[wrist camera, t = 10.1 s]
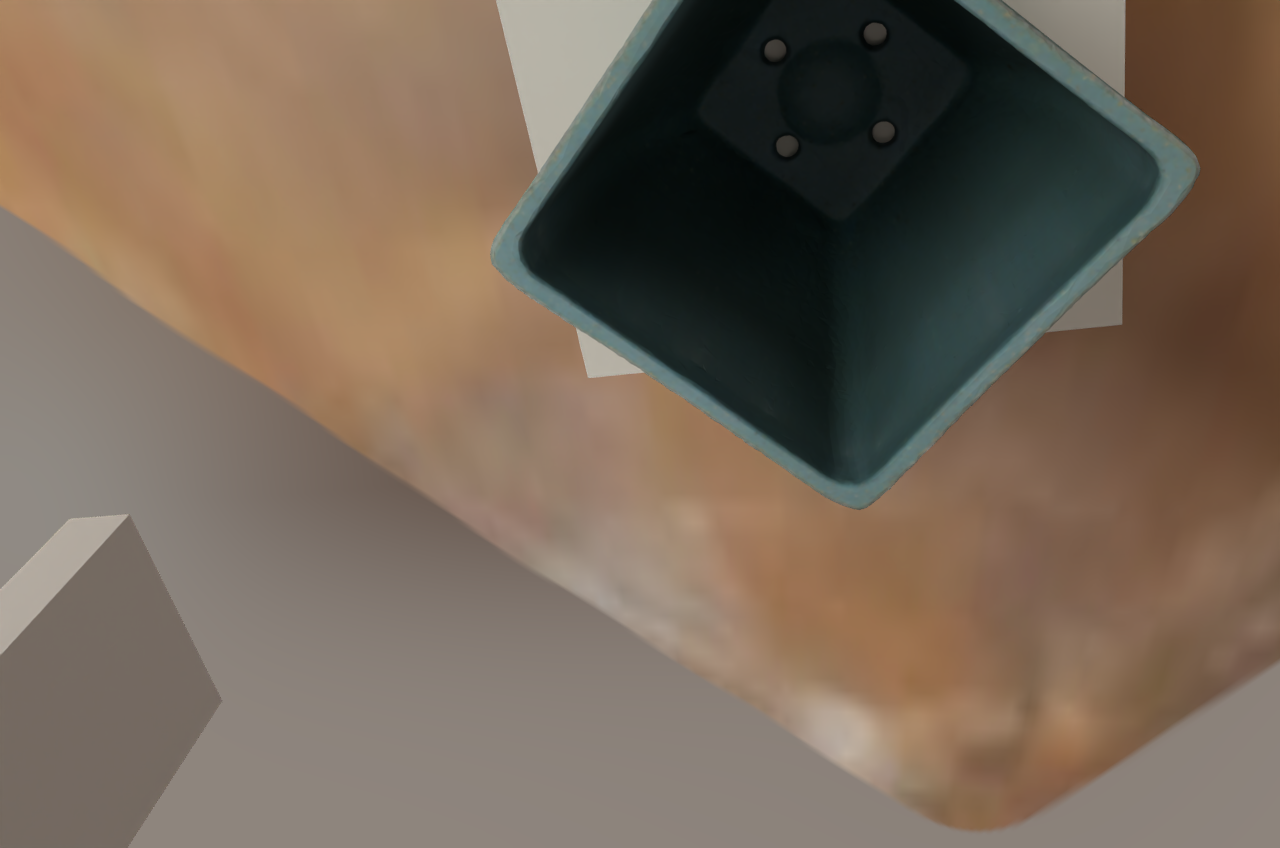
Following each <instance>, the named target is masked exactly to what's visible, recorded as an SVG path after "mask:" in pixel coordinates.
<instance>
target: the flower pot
mask: <svg viewBox="0 0 1280 848" xmlns="http://www.w3.org/2000/svg"><path fill="white" fill-rule="evenodd" d="M871 23H879V24H882V25H883V26H884V27H885V29H886V33H887V34H886V39H885V40H884V41H883V43H881V44H879V45H870V44H869V43H867V42H866V40H865V38H864V30H865V28H866V27H867V26H868V25H869V24H871ZM772 40H780V41H781V42H783V43H784V45H785V47H786V54H785V56H784V58H783V59H782V60H781V61H778V62H771V61H769V60H768V59H767V58H766V56H765V53H764V51H765V46H766V45H767V43H768V42H770V41H772ZM879 122H889V123H891V124H892V125H893V127H894V129H895V134H894V136H893V138H892V139H891V140H890V141H888V142H885V143H880V142H877V141H876V140H875V139H874V138H873V135H872V130H873V128H874V126H875V125H876V124H877V123H879ZM783 136H792V137H794V138H795V139H796V140H797V142H798V144H799V146H798V150H797V152H796V153H795V154H794V155H792V156H790V157H785V156H782V155H780V154H779V153H778V151H777V147H776V143H777V141H778V140H779V138H781V137H783ZM1199 173H1200V166H1199V163H1198V160H1197V157H1196V156H1195V154H1194V153H1193V152H1192V151H1191V150H1190V148H1189V147H1188V146H1186V145H1185V144H1184V143H1183V142H1182V141H1181V140H1180V139H1179V138H1178V137H1176V136H1175V135H1174V134H1173V133H1171V132H1170V131H1169V130H1167V129H1166V128H1165V127H1163V126H1162V125H1160V124H1159V123H1158V122H1156V121H1155V120H1154V119H1152V118H1151V117H1149V116H1148V115H1147V114H1145V113H1144V112H1143V111H1141V110H1140V109H1139V108H1138V107H1136V106H1135V105H1134V104H1132V103H1131V102H1130V101H1129V100H1127V99H1126V98H1125V97H1124V96H1122V95H1121V94H1120V93H1118V92H1117V91H1116V90H1115V89H1113V88H1112V87H1111V86H1109V85H1108V84H1107V83H1106V82H1104V81H1103V80H1102V79H1100V78H1099V77H1098V76H1097V75H1095V74H1094V73H1093V72H1092V71H1090V70H1089V69H1088V68H1086V67H1085V66H1084V65H1083V64H1081V63H1080V62H1079V61H1078V60H1076V59H1075V58H1074V57H1073V56H1071V55H1070V54H1069V53H1067V52H1066V51H1065V50H1064V49H1062V48H1061V47H1060V46H1059V45H1057V44H1056V43H1055V42H1054V41H1052V40H1051V39H1050V38H1049V37H1047V36H1046V35H1045V34H1044V33H1042V32H1041V31H1040V30H1039V29H1037V28H1036V27H1035V26H1034V25H1032V24H1031V23H1030V22H1029V21H1027V20H1026V19H1025V18H1024V17H1022V16H1021V15H1020V14H1019V13H1017V12H1016V11H1015V10H1014V9H1012V8H1011V7H1010V6H1009V5H1007V4H1006V3H1005V2H1004V1H1002V0H652V1H651V3H650V5H649V6H648V8H647V9H646V10H645V12H644V13H643V15H642V16H641V18H640V20H639V21H638V23H637V24H636V26H635V27H634V29H633V30H632V32H631V34H630V35H629V37H628V38H627V40H626V41H625V43H624V45H623V47H622V48H621V49H620V50H619V52H618V53H617V55H616V57H615V58H614V60H613V61H612V63H611V64H610V65H609V67H608V68H607V70H606V71H605V73H604V75H603V76H602V78H601V79H600V81H599V82H598V83H597V85H596V86H595V88H594V89H593V91H592V93H591V94H590V96H589V97H588V99H587V100H586V102H585V104H584V105H583V107H582V108H581V110H580V111H579V113H578V114H577V116H576V117H575V119H574V120H573V122H572V123H571V125H570V126H569V128H568V129H567V131H566V132H565V133H564V135H563V137H562V138H561V140H560V141H559V143H558V144H557V146H556V147H555V149H554V150H553V152H552V153H551V155H550V156H549V158H548V159H547V161H546V162H545V164H544V165H543V167H542V168H541V170H540V172H539V173H538V174H537V176H536V177H535V179H534V180H533V182H532V183H531V185H530V186H529V188H528V189H527V190H526V192H525V193H524V195H523V196H522V198H521V199H520V201H519V202H518V204H517V205H516V207H515V208H514V209H513V211H512V212H511V214H510V215H509V217H508V218H507V219H506V221H505V222H504V224H503V225H502V227H501V229H500V230H499V232H498V234H497V235H496V237H495V239H494V241H493V244H492V247H491V254H490V255H491V261H492V265H493V266H494V267H495V268H496V269H497V270H498V271H499V272H500V273H501V274H502V276H503V277H504V278H505V279H506V280H507V281H508V282H510V283H511V284H512V285H514V286H515V287H516V288H517V289H518V290H520V291H522V292H523V293H524V294H526V295H527V296H528V297H529V298H531V299H534V300H535V301H536V302H537V303H539V304H541V305H542V306H544V307H546V308H547V309H548V310H550V311H551V312H553V313H554V314H556V315H558V316H560V317H561V318H562V319H563V320H564V321H566V322H568V323H569V324H571V325H573V326H574V327H576V328H577V329H579V330H580V331H581V332H583V333H585V334H587V335H588V336H590V337H591V338H593V339H594V340H596V341H597V342H599V343H601V344H603V345H604V346H605V347H607V348H608V349H610V350H611V351H613V352H615V353H616V354H617V355H618V356H620V357H622V358H624V359H626V360H627V361H628V362H629V363H630V364H632V365H634V366H636V367H638V368H639V369H641V370H642V371H643V372H644V373H646V374H647V375H649V376H650V377H651V378H653V379H654V380H656V381H658V382H659V383H661V384H663V385H664V386H665V387H667V388H668V389H669V390H670V391H672V392H674V393H676V394H677V395H679V396H681V397H683V398H684V399H685V400H686V401H688V402H689V403H691V404H692V405H693V406H695V407H697V408H698V409H700V410H701V411H702V412H704V413H705V414H706V415H707V416H708V417H710V418H711V419H713V420H714V421H716V422H718V423H720V424H721V425H722V426H724V427H725V428H726V429H728V430H729V431H731V432H732V433H734V434H735V435H736V436H737V437H739V438H741V439H743V441H744V442H745V443H747V444H748V445H749V446H751V447H753V448H755V449H756V450H758V451H760V452H762V453H763V454H764V455H765V456H766V457H768V458H769V459H771V460H772V461H774V462H775V463H777V464H778V465H780V466H781V467H783V468H784V469H786V470H787V471H788V472H790V473H791V474H792V475H794V476H795V477H796V478H798V479H800V480H801V481H802V482H804V483H805V484H807V485H809V486H810V487H811V488H813V489H814V490H815V491H817V492H818V493H820V494H821V495H823V496H824V497H826V498H828V499H830V500H832V501H834V502H836V503H838V504H840V505H843V506H846V507H849V508H852V509H857V510H861V509H864V508H867V507H868V506H870V505H871V504H872V503H874V502H875V501H876V500H877V499H879V498H880V497H881V496H882V495H883V494H884V493H885V492H886V491H887V490H889V489H891V487H892V486H893V485H894V484H895V483H896V482H897V480H898V479H899V478H900V477H901V476H902V475H903V474H904V473H905V472H906V471H907V470H908V469H910V468H911V467H912V466H913V465H914V464H915V463H916V462H917V461H918V459H919V458H920V457H921V456H922V455H923V454H924V453H925V452H926V451H927V450H928V449H929V448H931V447H932V446H933V445H934V444H935V443H936V442H937V440H938V439H939V438H940V437H941V436H943V435H944V433H945V432H946V431H947V429H948V428H949V427H950V426H951V425H953V424H954V423H955V422H956V421H957V420H958V419H959V417H960V416H961V415H962V414H963V413H964V412H965V411H966V410H967V409H968V408H969V407H970V406H972V405H973V404H974V403H975V402H976V401H977V400H978V399H979V398H980V397H981V396H982V395H983V394H984V393H985V391H986V390H987V389H988V388H989V387H990V386H991V385H992V384H993V383H994V382H996V381H997V380H998V379H999V378H1000V376H1001V375H1003V374H1004V373H1005V372H1006V371H1007V370H1008V369H1009V368H1010V367H1011V366H1012V365H1013V364H1014V363H1015V362H1016V361H1017V360H1018V359H1019V358H1021V357H1022V356H1023V355H1024V354H1025V353H1026V352H1027V351H1028V350H1029V349H1030V348H1031V347H1032V346H1033V345H1034V344H1035V343H1036V342H1037V341H1038V340H1039V339H1040V338H1041V337H1042V336H1043V335H1044V334H1045V332H1046V331H1048V330H1049V329H1050V328H1051V327H1052V326H1053V325H1054V324H1055V323H1056V322H1057V321H1058V320H1059V319H1060V318H1061V317H1062V316H1063V315H1064V314H1065V313H1066V312H1067V311H1068V310H1069V309H1071V308H1072V307H1073V305H1074V304H1075V303H1076V302H1077V301H1079V300H1080V299H1081V298H1082V296H1083V295H1084V294H1085V293H1087V292H1088V291H1089V290H1090V289H1091V288H1092V287H1093V286H1095V285H1096V284H1097V283H1098V282H1099V281H1100V280H1101V279H1102V278H1103V277H1104V276H1105V275H1106V274H1107V273H1108V272H1109V270H1111V269H1112V268H1113V267H1114V266H1116V265H1117V264H1118V262H1119V261H1120V260H1121V259H1122V258H1124V257H1125V256H1126V255H1127V254H1128V253H1129V252H1130V251H1131V250H1132V249H1133V248H1134V247H1135V246H1136V245H1137V244H1138V243H1140V242H1141V241H1142V240H1143V239H1144V238H1146V236H1147V235H1148V234H1149V233H1150V232H1151V231H1152V230H1153V229H1155V228H1156V227H1157V226H1159V225H1160V224H1161V223H1162V222H1163V221H1165V220H1166V219H1167V218H1168V217H1169V216H1170V215H1171V214H1172V213H1173V212H1174V210H1175V209H1176V208H1177V207H1178V206H1179V204H1180V203H1181V202H1182V201H1183V200H1184V199H1185V197H1186V196H1187V195H1188V193H1189V192H1190V191H1191V189H1192V188H1193V186H1194V183H1195V180H1196V179H1197V177H1198V176H1199Z"/></svg>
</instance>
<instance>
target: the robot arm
mask: <svg viewBox="0 0 1280 848" xmlns="http://www.w3.org/2000/svg"><path fill="white" fill-rule="evenodd" d="M221 702H222V700H221V697H220V695H219V693H218V691H217V689H216V687H215V685H214V683H213V681H212V680H211V677H210V675H209V673H208V671H207V669H206V667H205V665H204V663H203V661H202V659H201V657H200V655H199V653H198V651H197V649H196V647H195V645H194V643H193V641H192V639H191V637H190V635H189V633H188V631H187V629H186V627H185V625H184V623H183V621H182V619H181V617H180V615H179V614H178V611H177V609H176V607H175V605H174V603H173V601H172V599H171V597H170V595H169V593H168V591H167V589H166V587H165V585H164V583H163V581H162V579H161V577H160V574H159V572H158V570H157V568H156V567H155V564H154V562H153V561H152V558H151V556H150V554H149V552H148V550H147V548H146V546H145V544H144V542H143V540H142V538H141V536H140V534H139V532H138V530H137V528H136V526H135V524H134V522H133V520H132V518H131V516H130V514H126V515H113V516H100V517H88V518H75V519H69V520H68V521H67V522H66V523H65V524H64V525H63V526H62V527H61V528H60V529H59V530H58V531H57V532H56V533H55V534H54V535H53V536H52V537H51V538H50V539H49V540H48V541H47V543H46V544H45V545H44V546H42V548H40V549H39V551H38V552H37V553H36V554H35V555H34V556H33V557H32V558H31V559H30V560H29V561H28V562H27V563H26V564H25V565H24V566H23V567H22V568H21V569H20V570H19V571H18V572H17V573H16V574H15V575H14V576H13V577H12V578H11V579H10V580H9V581H8V582H7V583H6V584H5V585H4V586H3V587H2V588H1V589H0V848H128V846H129V844H130V843H131V841H132V840H133V838H134V836H135V835H136V833H137V832H138V830H139V829H140V827H141V826H142V824H143V823H144V821H145V820H146V818H147V817H148V815H149V813H150V812H151V810H152V809H153V807H154V806H155V804H156V803H157V801H158V799H159V798H160V796H161V795H162V793H163V792H164V790H165V789H166V787H167V786H168V784H169V782H170V781H171V779H172V778H173V776H174V775H175V773H176V771H177V770H178V769H179V767H180V765H181V764H182V762H183V761H184V759H185V758H186V756H187V754H188V753H189V751H190V750H191V748H192V747H193V745H194V744H195V742H196V741H197V739H198V738H199V736H200V734H201V733H202V731H203V730H204V728H205V727H206V725H207V724H208V722H209V721H210V719H211V717H212V716H213V714H214V713H215V711H216V710H217V708H218V707H219V705H220V703H221Z"/></svg>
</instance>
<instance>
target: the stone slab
mask: <svg viewBox="0 0 1280 848" xmlns="http://www.w3.org/2000/svg"><path fill="white" fill-rule="evenodd" d="M651 1H652V0H496V2H497V6H498V10H499V14H500V18H501V23H502V27H503V31H504V35H505V39H506V43H507V47H508V51H509V55H510V59H511V64H512V68H513V72H514V76H515V80H516V84H517V88H518V92H519V96H520V100H521V105H522V109H523V113H524V117H525V121H526V125H527V129H528V133H529V137H530V141H531V146H532V150H533V154H534V158H535V162H536V166H537V170H538V173H539V172H540V170H541V168H542V167H543V165H544V164H545V162H546V161H547V159H548V158H549V156H550V155H551V153H552V152H553V150H554V149H555V147H556V146H557V144H558V143H559V141H560V140H561V138H562V137H563V135H564V133H565V132H566V131H567V129H568V128H569V126H570V125H571V123H572V122H573V120H574V119H575V117H576V116H577V114H578V113H579V111H580V110H581V108H582V107H583V105H584V104H585V102H586V100H587V99H588V97H589V96H590V94H591V93H592V91H593V89H594V88H595V86H596V85H597V83H598V82H599V81H600V79H601V78H602V76H603V75H604V73H605V71H606V70H607V68H608V67H609V65H610V64H611V63H612V61H613V60H614V58H615V57H616V55H617V53H618V52H619V50H620V49H621V48H622V47H623V45H624V43H625V41H626V40H627V38H628V37H629V35H630V34H631V32H632V30H633V29H634V27H635V26H636V24H637V23H638V21H639V20H640V18H641V16H642V15H643V13H644V12H645V10H646V9H647V8H648V6H649V5H650V3H651ZM1002 1H1004V2H1005V3H1006V4H1007V5H1009V6H1010V7H1011V8H1012V9H1014V10H1015V11H1016V12H1017V13H1019V14H1020V15H1021V16H1022V17H1024V18H1025V19H1026V20H1027V21H1029V22H1030V23H1031V24H1032V25H1034V26H1035V27H1036V28H1037V29H1039V30H1040V31H1041V32H1042V33H1044V34H1045V35H1046V36H1047V37H1049V38H1050V39H1051V40H1052V41H1054V42H1055V43H1056V44H1057V45H1059V46H1060V47H1061V48H1062V49H1064V50H1065V51H1066V52H1067V53H1069V54H1070V55H1071V56H1073V57H1074V58H1075V59H1076V60H1078V61H1079V62H1080V63H1081V64H1083V65H1084V66H1085V67H1086V68H1088V69H1089V70H1090V71H1092V72H1093V73H1094V74H1095V75H1097V76H1098V77H1099V78H1100V79H1102V80H1103V81H1104V82H1106V83H1107V84H1108V85H1109V86H1111V87H1112V88H1113V89H1115V90H1116V91H1117V92H1118V93H1120V94H1121V95H1122V96H1124V97H1125V0H1002ZM886 34H887V33H886V29H885V27H884V26H883V25H882V24H879V23H871V24H869V25H868V26H867V27H866V28H865V30H864V38H865V40H866V42H867V43H869V44H870V45H879V44H881V43H883V41H884V40H885V39H886ZM764 53H765V56H766V58H767V59H768V60H769V61H771V62H778V61H781V60H782V59H783V58H784V56H785V54H786V47H785V45H784V43H783V42H781V41H780V40H772V41H770V42H768V43H767V45H766V46H765V51H764ZM894 134H895V129H894V127H893V125H892V124H891V123H889V122H879V123H877V124H876V125H875V126H874V128H873V130H872V135H873V138H874V139H875V140H876V141H877V142H880V143H885V142H888V141H890V140H891V139H892V138H893V136H894ZM798 146H799V144H798V142H797V140H796V139H795V138H794V137H792V136H783V137H781V138H779V140H778V141H777V143H776V147H777V151H778V153H779V154H780V155H782V156H785V157H790V156H792V155H794V154H795V153H796V152H797V150H798ZM1122 294H1123V258H1122V259H1121V260H1120V261H1119V262H1118V264H1117V265H1116V266H1114V267H1113V268H1112V269H1111V270H1109V272H1108V273H1107V274H1106V275H1105V276H1104V277H1103V278H1102V279H1101V280H1100V281H1099V282H1098V283H1097V284H1096V285H1095V286H1093V287H1092V288H1091V289H1090V290H1089V291H1088V292H1087V293H1085V294H1084V295H1083V296H1082V298H1081V299H1080V300H1079V301H1077V302H1076V303H1075V304H1074V305H1073V307H1072V308H1071V309H1069V310H1068V311H1067V312H1066V313H1065V314H1064V315H1063V316H1062V317H1061V318H1060V319H1059V320H1058V321H1057V322H1056V323H1055V324H1054V325H1053V326H1052V327H1051V328H1050V329H1049V330H1048V331H1046V332H1054V331H1064V330H1074V329H1084V328H1094V327H1104V326H1114V325H1122ZM576 330H577V334H578V338H579V342H580V347H581V351H582V355H583V359H584V363H585V367H586V371H587V375H588V378H593V377H603V376H613V375H623V374H634V373H644V372H643V371H642V370H641V369H639V368H638V367H636V366H634V365H632V364H630V363H629V362H628V361H627V360H626V359H624V358H622V357H620V356H618V355H617V354H616V353H615V352H613V351H611V350H610V349H608V348H607V347H605V346H604V345H603V344H601V343H599V342H597V341H596V340H594V339H593V338H591V337H590V336H588V335H587V334H585V333H583V332H581V331H580V330H579V329H577V328H576Z"/></svg>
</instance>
